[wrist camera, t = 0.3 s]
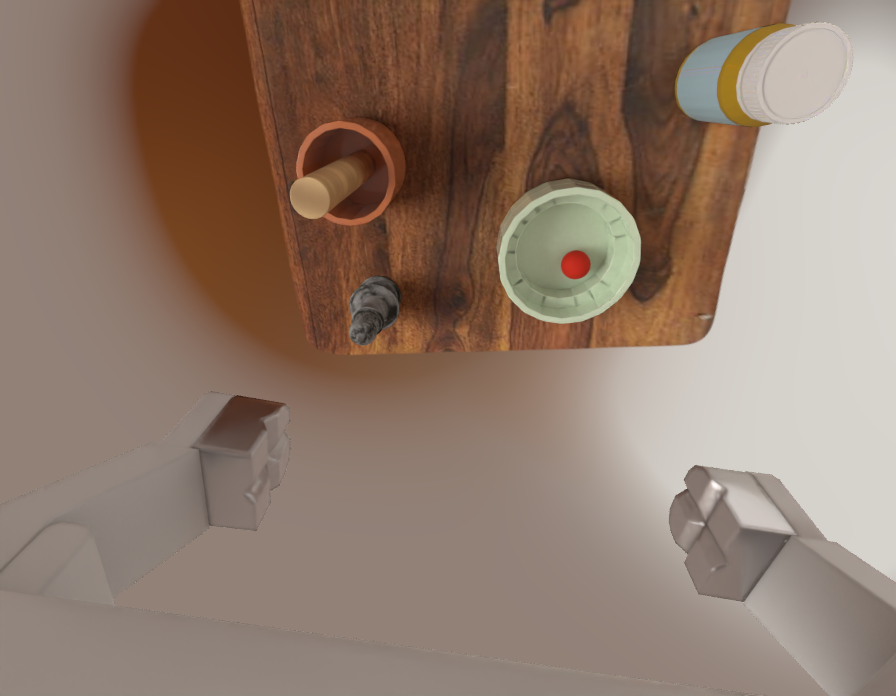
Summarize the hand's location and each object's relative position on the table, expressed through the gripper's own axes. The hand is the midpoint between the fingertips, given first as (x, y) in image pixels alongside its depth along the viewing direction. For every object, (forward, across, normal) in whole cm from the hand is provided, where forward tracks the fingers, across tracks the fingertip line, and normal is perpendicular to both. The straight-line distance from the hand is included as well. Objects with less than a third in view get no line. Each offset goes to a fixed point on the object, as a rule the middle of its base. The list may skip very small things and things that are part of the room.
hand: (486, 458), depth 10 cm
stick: (+46, +12, +2) cm, 47 cm away
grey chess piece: (+47, +9, +17) cm, 51 cm away
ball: (+44, -12, +9) cm, 47 cm away
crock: (+46, +12, +2) cm, 48 cm away
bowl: (+46, -11, +7) cm, 48 cm away
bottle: (+47, -21, -11) cm, 52 cm away
